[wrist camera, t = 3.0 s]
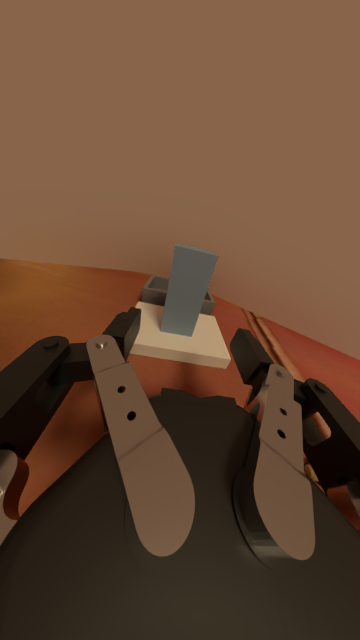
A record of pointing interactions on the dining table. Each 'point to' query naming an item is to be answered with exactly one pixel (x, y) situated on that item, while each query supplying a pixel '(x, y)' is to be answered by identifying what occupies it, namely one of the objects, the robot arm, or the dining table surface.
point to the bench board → (180, 340)
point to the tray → (157, 294)
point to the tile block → (187, 288)
